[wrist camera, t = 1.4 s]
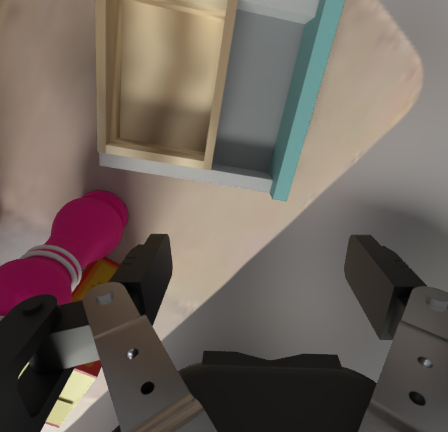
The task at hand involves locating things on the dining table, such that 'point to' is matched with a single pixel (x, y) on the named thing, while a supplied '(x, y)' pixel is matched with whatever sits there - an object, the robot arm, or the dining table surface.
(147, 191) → the dining table surface
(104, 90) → the crate
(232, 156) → the bay
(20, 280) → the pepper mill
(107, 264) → the baking soda box
